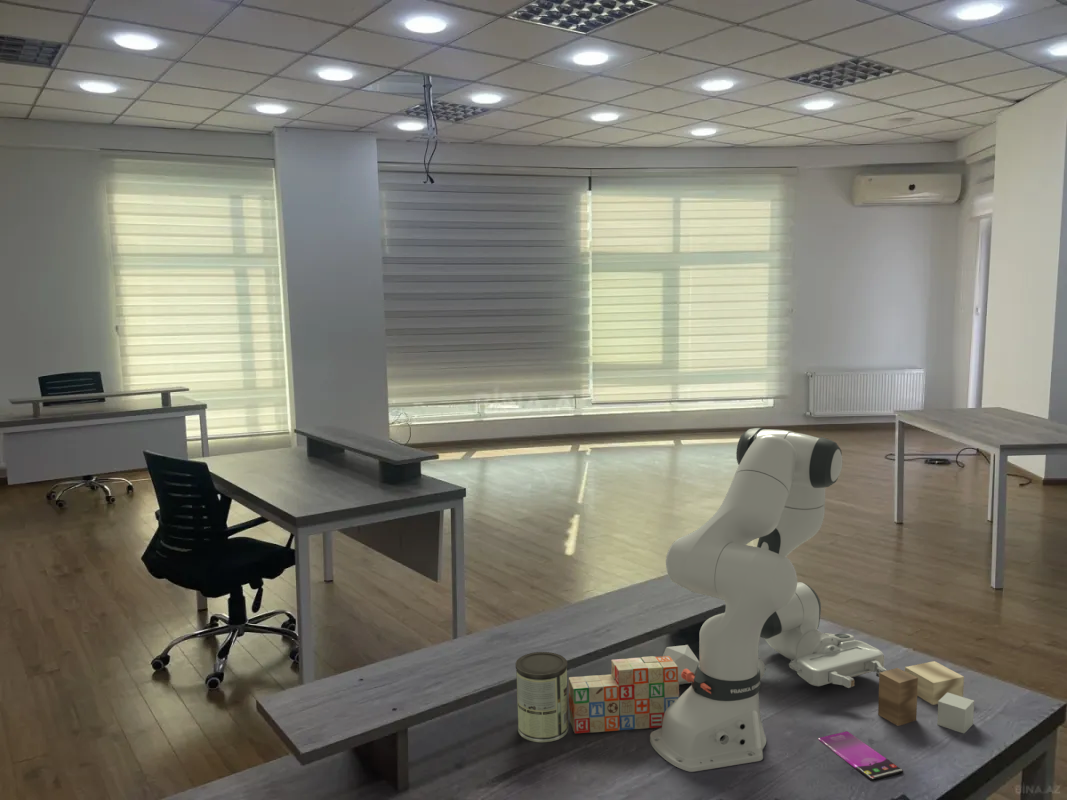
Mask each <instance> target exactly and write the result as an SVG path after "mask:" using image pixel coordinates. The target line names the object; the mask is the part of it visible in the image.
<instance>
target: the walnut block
mask: <svg viewBox="0 0 1067 800" xmlns="http://www.w3.org/2000/svg"><path fill="white" fill-rule="evenodd" d="M887 670H888V671H884V672H880V673H879V677H878V703H877V704H878V706H877V707H878V709H877V715H878V716H879V717H881V718H883V719H885V720H887V721H889V722H890V723H892V724H893V725H895V726H897V727H899V726H903V725H907V724H910V723H912V722H915V721H917V713H918V712H917V709H918V708H917V707H918V696H917V686H918V678H917V677H915V676H913V675H911V674H909V673H907V672H905V670H902V669H901V668H899V667H896V668H895V667H894V668H891V669H887Z"/></svg>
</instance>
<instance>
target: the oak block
mask: <svg viewBox="0 0 1067 800" xmlns="http://www.w3.org/2000/svg"><path fill="white" fill-rule="evenodd" d="M904 671H905V672H907V673H909V674H911V675H913V676H915V677H917V678H918V686H917V697H918V698H921V699H922V700H924V701H925V702H927V703H928V704H930V705H932V706H934V705H938V701H939V700H940V699H941V698H942V697H943V696H944V695H945V694H946V693H947V692H948V693H951V694H954V695H958V696H961V697H964V687H965V685H964V684H965V676H963V675H961V674H960V673H958V672H956V671H954V670H952V669H950V668H948V667H946V665H945V666H944V665H943V664H941V663H939V662H937V661H935V660H934V661H929V662H923V663H918V664H914V665H913V664H912V665H910V666H904Z"/></svg>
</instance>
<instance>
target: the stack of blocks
mask: <svg viewBox="0 0 1067 800" xmlns="http://www.w3.org/2000/svg"><path fill="white" fill-rule="evenodd" d="M662 656H663V655H662ZM662 656H655V655H654V656H653V655H651V656H642V657H641V656H640V657H629V658H619V659H618V658H617V659H611V660H610V662H611V670H610V671H611V674H610V673H609V674H601V675H599V674H598V675H584V676H570V677H568V707H569V708H568V711H569V712H568V713H569V722H570V725H571V728H572V730H573V732H574V734H585V733H602V732H615V731H627V730H642V729H656V728H657V729H660V728H662V723H663V717H664V713H665V711H666V709H667V708H668V707H669V706H670V705H672V704H673V703H674V702H675V701H676V700H677V699H678V698H679V697H680V690H679V689H680V685H679V681H678V666H677V665H676V664H675V662H674V661H673V660H672V659H671V658H670V656H663V657H662Z"/></svg>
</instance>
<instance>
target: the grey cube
mask: <svg viewBox="0 0 1067 800" xmlns="http://www.w3.org/2000/svg"><path fill="white" fill-rule="evenodd" d="M974 712H975V700H974V699H970V698H967V697H965V696H963V697H961V696H958V695H954V694H951V693H948V692H947V693H946V694H945V695H944V696H943V697H942V698H941V699H940V700H939V701H938V704H937V720H936V721H937V723H936V724H937V726H941V727H943V728H947V729H949V730H952V731H955V732H958V733H961V734H965V733H966V732H967V731H968V730H970V728H971V727H972V726H973V725H974V718H975V717H974V715H975V713H974Z"/></svg>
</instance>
